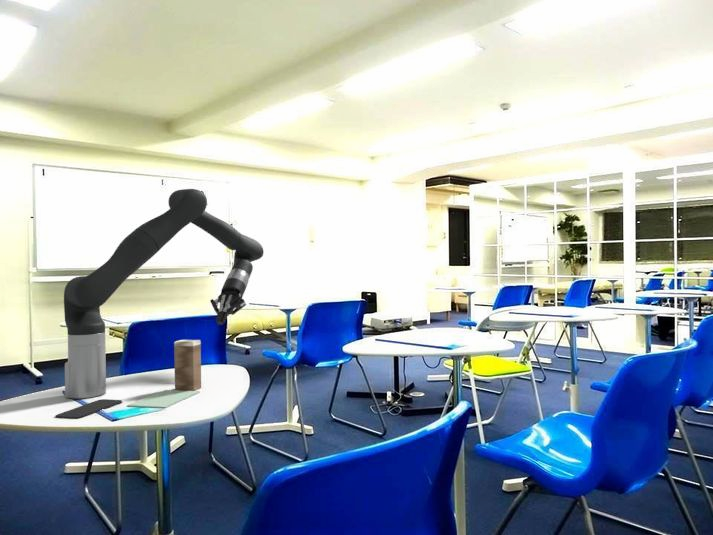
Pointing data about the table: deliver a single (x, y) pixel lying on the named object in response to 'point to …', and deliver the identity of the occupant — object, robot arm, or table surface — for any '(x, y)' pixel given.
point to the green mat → (164, 399)
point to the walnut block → (187, 365)
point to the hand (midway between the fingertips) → (219, 322)
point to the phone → (88, 409)
